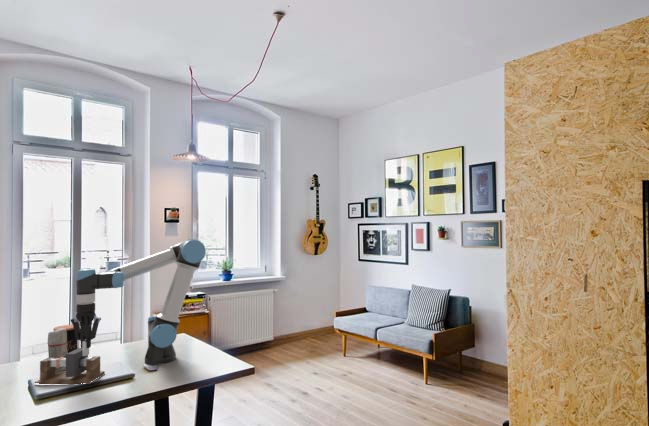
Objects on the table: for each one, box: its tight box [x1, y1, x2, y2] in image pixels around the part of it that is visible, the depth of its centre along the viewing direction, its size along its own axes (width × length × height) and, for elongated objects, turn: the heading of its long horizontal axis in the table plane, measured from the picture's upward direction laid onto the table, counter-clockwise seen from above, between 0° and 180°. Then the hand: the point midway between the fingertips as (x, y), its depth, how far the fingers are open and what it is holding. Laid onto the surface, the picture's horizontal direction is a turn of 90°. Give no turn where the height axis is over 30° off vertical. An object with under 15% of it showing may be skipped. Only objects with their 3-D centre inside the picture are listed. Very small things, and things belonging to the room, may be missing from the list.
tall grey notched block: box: [65, 347, 89, 377], centre depth 190 cm, size 4×10×10 cm, turn 179°
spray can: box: [47, 328, 68, 372], centre depth 204 cm, size 8×8×20 cm
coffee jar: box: [53, 324, 78, 353], centre depth 217 cm, size 11×11×18 cm
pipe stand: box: [34, 355, 105, 385], centre depth 189 cm, size 24×13×10 cm, turn 89°
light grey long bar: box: [49, 356, 94, 368], centre depth 190 cm, size 21×4×4 cm, turn 89°
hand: (85, 355), depth 189 cm, fingers closed
